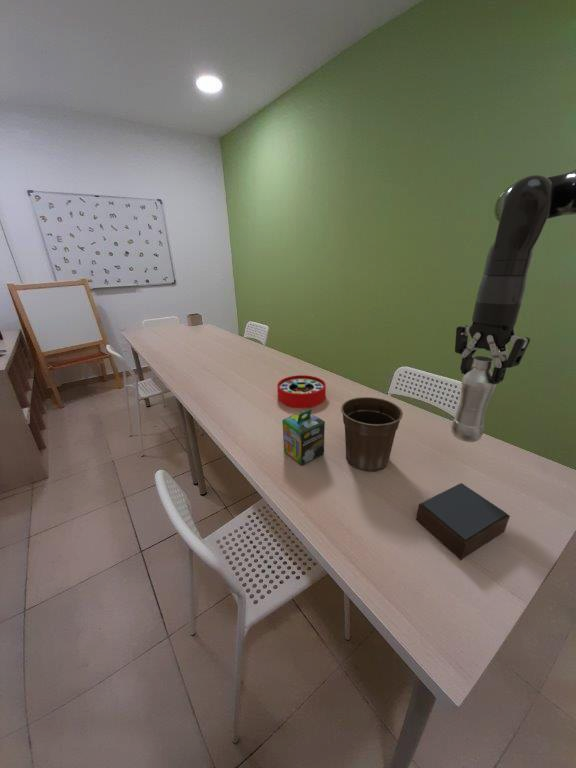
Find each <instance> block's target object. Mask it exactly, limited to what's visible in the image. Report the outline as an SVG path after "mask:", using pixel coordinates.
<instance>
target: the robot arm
mask: <svg viewBox="0 0 576 768" xmlns="http://www.w3.org/2000/svg"><path fill="white" fill-rule="evenodd" d="M493 207H494V208H493V215H494V218H495V219H496V220H497V222H498V225H497V229H496V234H495V238H494V242H493V243H492V244H491V245H490V247H489V249H488V252H487V254H486V259H485V264H484V268H483V272H482V277H481V280H480V283H479V286H478V290H477V295H476V297H475V298H476V299H475V303H474V308H473V313H472V318H471V321H472V324H470V326H469V325H466V324H465V325H460V326H457V327H456V328H455V329H456V330H455V343H454V352H455V354H459V355H461V363H460V367H459V368H460V371H461V372H460V373H461V374H462V375H465V374H466V373H467V372H468V371H469V370H470V369H472V368H473V366H472V363H473V358H474V355H475V354H476V353H477V352H478V350H480V349H483V350H486V351H487V352H490V355H491V358H492V359H494V364H495V366H493V369H492V370H493V371H492V378H491V382H490V383H491V384H494V385H495V384H496V385H498V384H499V383H502V382H503V381H504V379H505V375H506V371H507V369H511V368H513V367H518V366H519V365H520V364H521V361H522V359H523V357H524V355H525V353H526V351H527V348H528V346H529V344H530V342H531V339H530V337H528V336H526V337H521V336H519V335H516V334H515V331H514V328H515V326H516V324H517V321H518V317H519V314H520V309H521V306H522V302H523V299H524V296H525V291H526V286H527V279H528V274H529V270H530V267H531V263H532V260H533V255H534V250H535V247H536V245H537V242H538V241H539V238H540V236H541V234H542V232H543V230H544V228H545V225H546V224H547V220H549V219H553V218H557V217H562V216H571V215H576V169H574V170H572V171H569V172H566V173H562V174H556V175H553V176H545V175H541V174H531V175H528V176H524V177H522V178H521V179H519V180H517V181H516V182H514V183H513V184H511V185H510V186H509V187H506V188H505V189H504V190H503V191H502V192H501V193H500V195H498V197H497V199H496V201H495V203H494V206H493ZM469 335H470V337H471V339H470V341H468V340H469ZM510 342H511V345H510V346H511V350H510V353H509V349H508V344H509V343H510ZM508 354H509V356H508Z"/></svg>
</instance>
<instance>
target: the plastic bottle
mask: <svg viewBox="0 0 576 768" xmlns="http://www.w3.org/2000/svg"><path fill="white" fill-rule="evenodd" d="M494 363H495V361H494V358H493V357H488V356H485V355H483V356H482V355H476V356H473V363H472V367H471V369H470V370H469V371H468V372H467V373H466V374H463V376H462V377H461V380H460V381H461V382H460V397H459V403H458V406H457V410H456V413H455V415H454V418H453V419H452V422H451V425H450V432H451V434H452V436H453V437H454V438H456V439H457V440H459V441H462V442H466V443H476V442H479V440H481V438H482V437H483V435H484V431H485V417H486V411H487V408H488V407H489V403H490V400H491V398H492V395H493V394H494V391H495V389H496V387H497V384H495V385H494V384H491V383H490V382H491V378H492V374H493V371H492V370H494Z"/></svg>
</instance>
